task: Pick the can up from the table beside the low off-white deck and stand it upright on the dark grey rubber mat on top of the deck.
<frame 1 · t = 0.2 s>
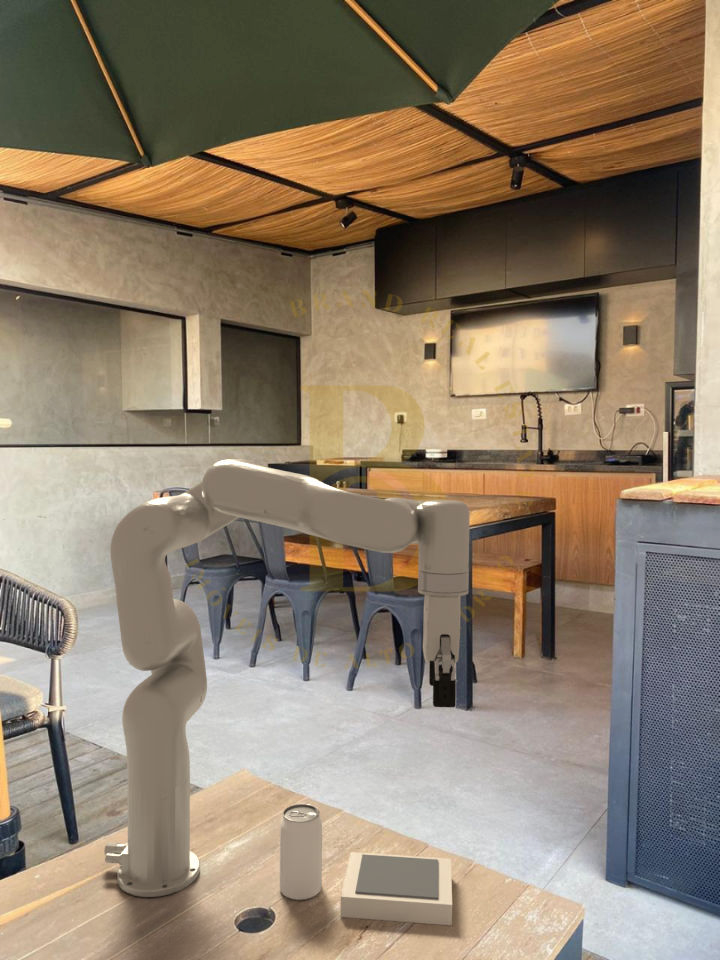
hand: (441, 695, 110), 31 cm above the table, tool pointing down, fingers open, 9 cm apart
can: (300, 890, 113), on the table
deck: (398, 896, 111), on the table
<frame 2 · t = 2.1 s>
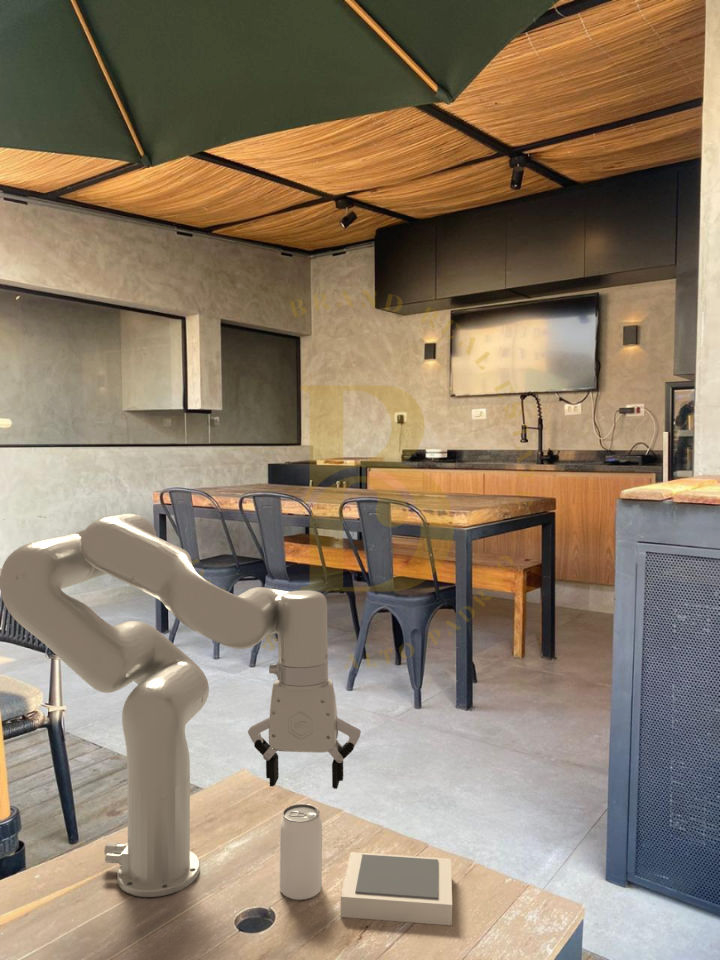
hand: (305, 783, 112), 16 cm above the table, tool pointing down, fingers open, 9 cm apart
nothing on the table moved.
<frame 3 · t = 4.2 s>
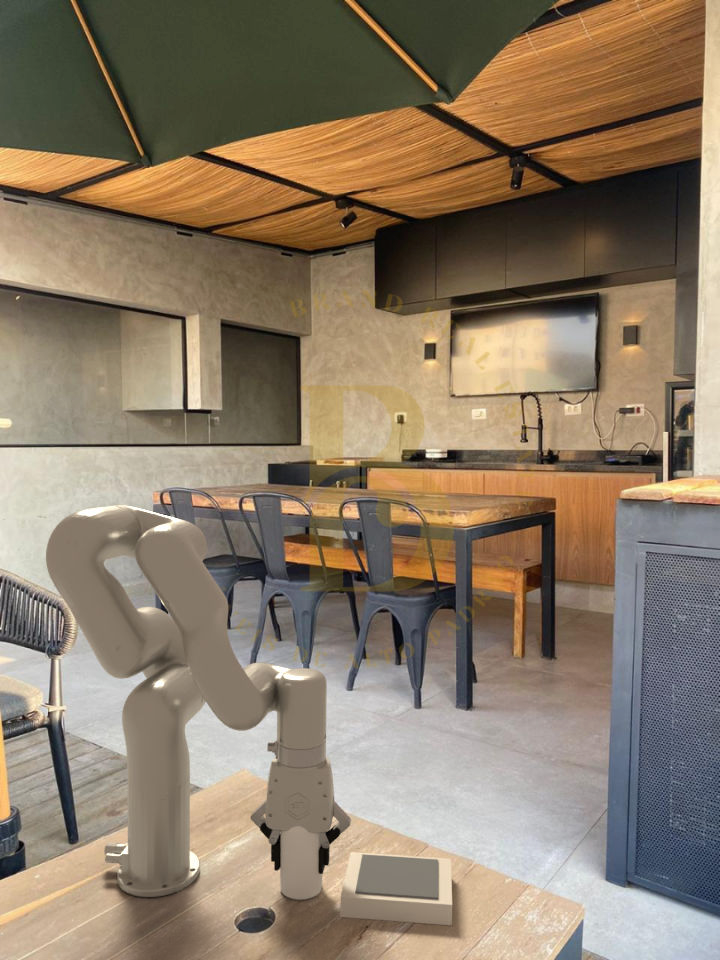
hand: (300, 866, 112), 4 cm above the table, tool pointing down, fingers closed on can, 6 cm apart
can: (301, 890, 113), on the table, touching gripper
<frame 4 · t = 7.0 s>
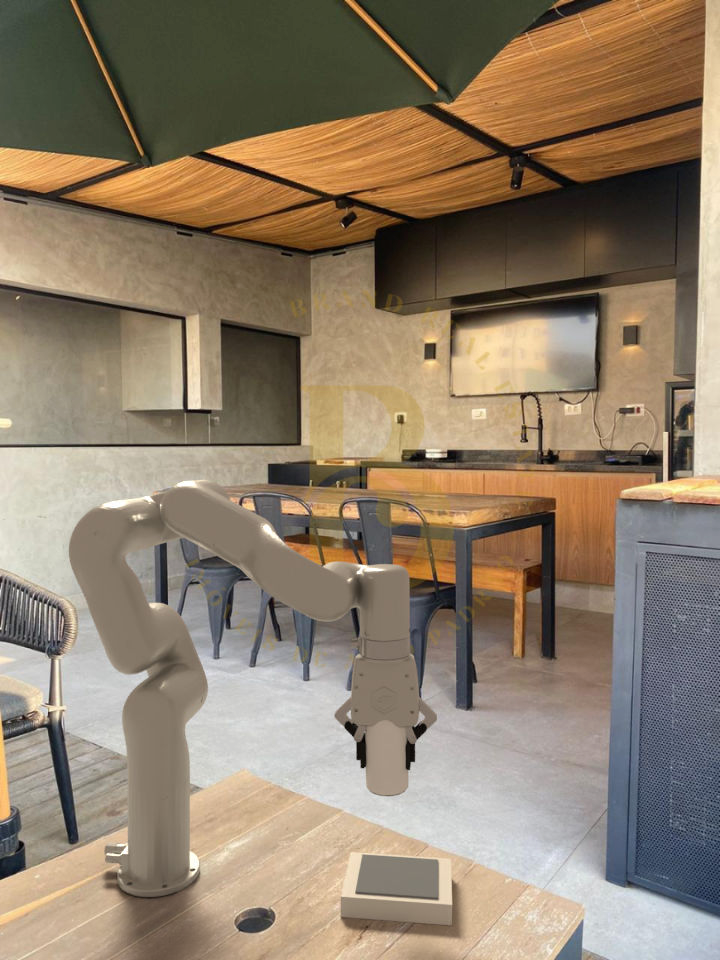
hand: (385, 764, 111), 20 cm above the table, tool pointing down, fingers closed on can, 6 cm apart
can: (387, 788, 111), point 16 cm above the table, touching gripper
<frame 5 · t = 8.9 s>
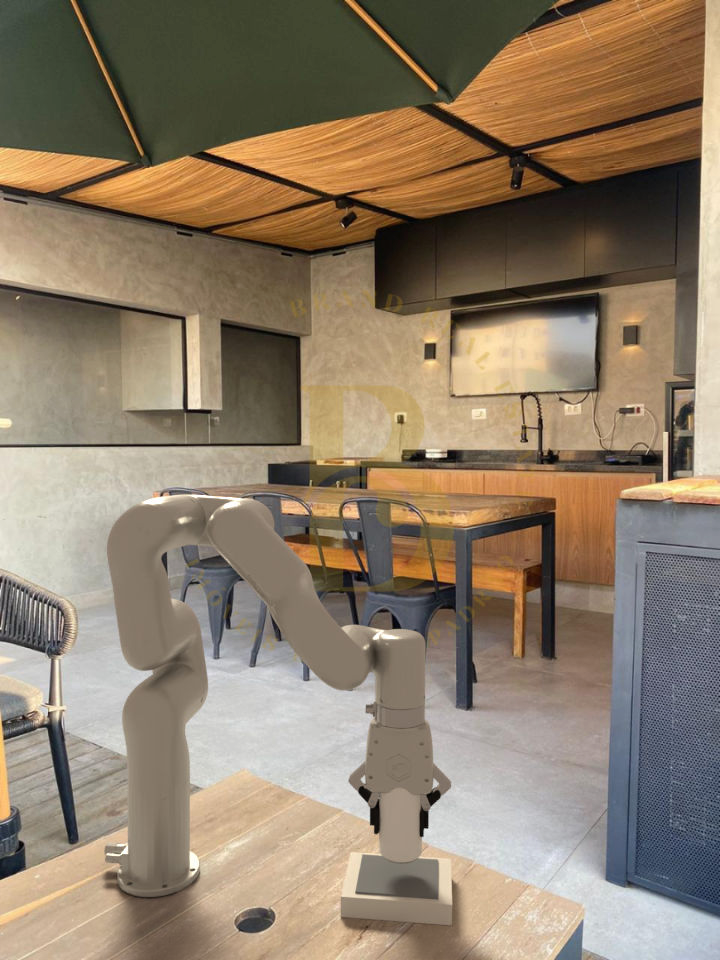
hand: (399, 830, 111), 10 cm above the table, tool pointing down, fingers closed on can, 6 cm apart
can: (400, 854, 111), point 7 cm above the table, touching gripper
when the fingers open (8 cm above the table, at t = 10.2 s): can drops 1 cm, resting on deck.
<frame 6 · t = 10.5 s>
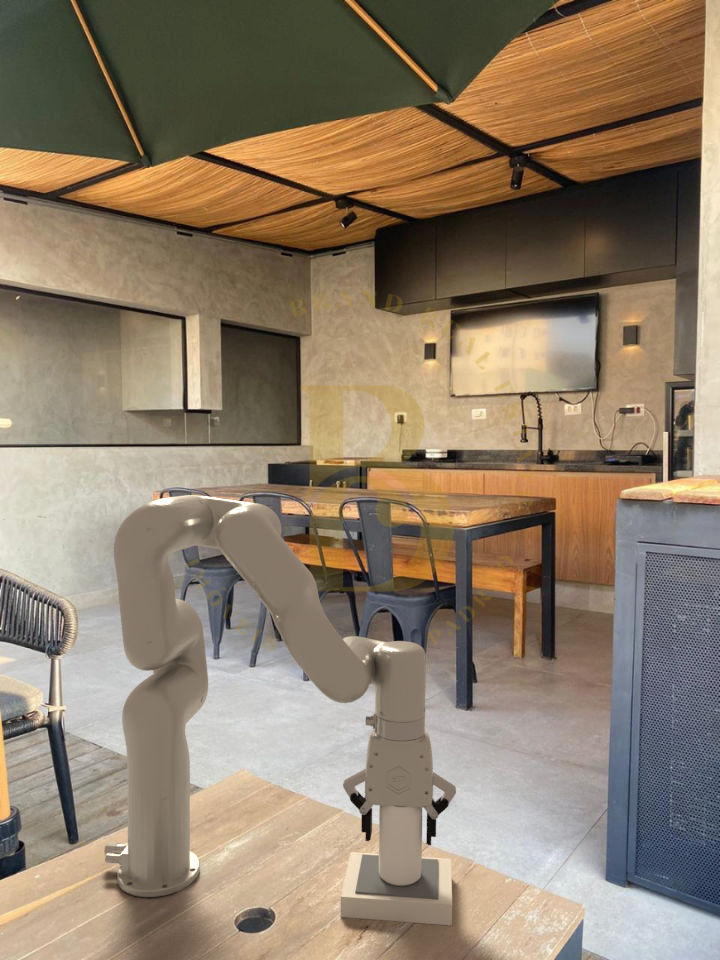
hand: (398, 838, 111), 9 cm above the table, tool pointing down, fingers open, 8 cm apart
can: (400, 876, 111), point 3 cm above the table, touching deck
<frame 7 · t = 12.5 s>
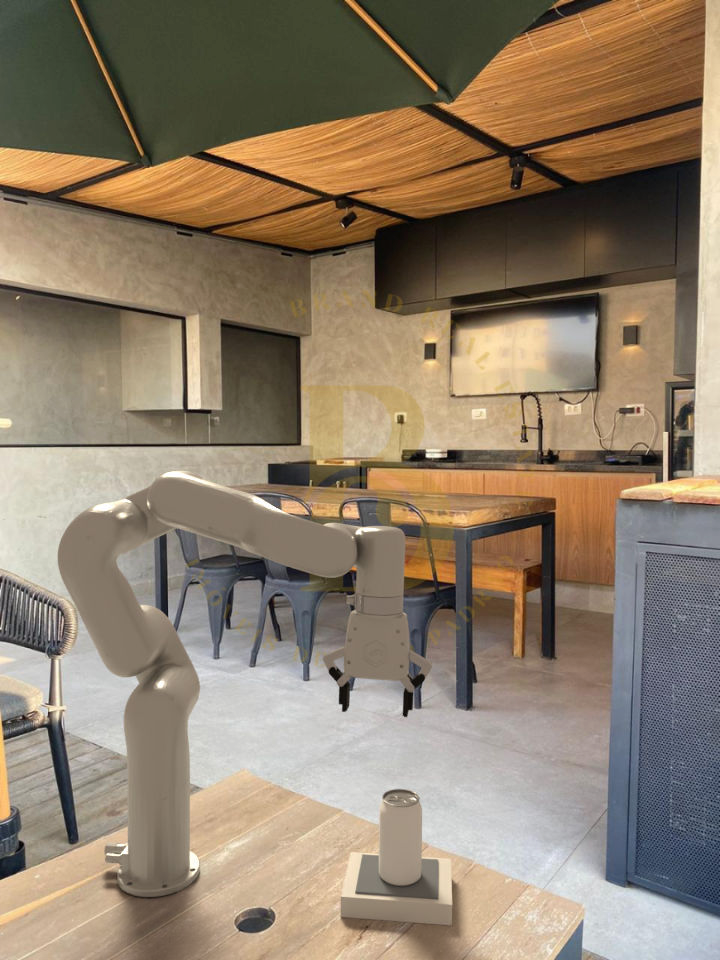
hand: (375, 711, 116), 26 cm above the table, tool pointing down, fingers open, 9 cm apart
nothing on the table moved.
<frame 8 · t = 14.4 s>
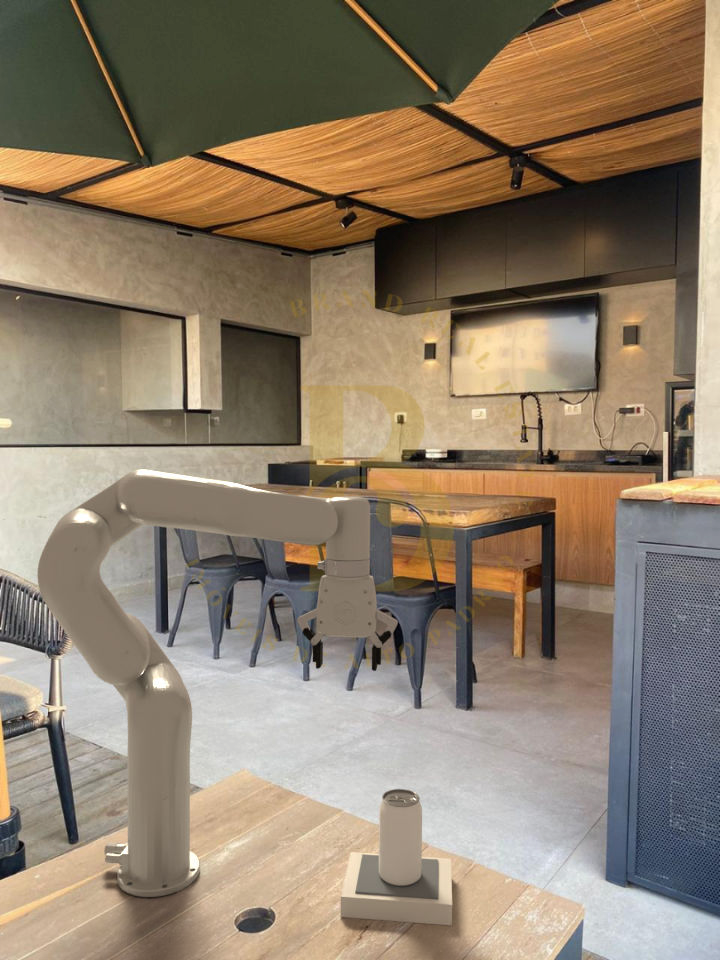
hand: (346, 667, 126), 30 cm above the table, tool pointing down, fingers open, 9 cm apart
nothing on the table moved.
at the end: can inside the target area on the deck (0.3 cm from its centre), point 3.1 cm above the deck's base; can tilted 0°; the gripper is holding nothing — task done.
